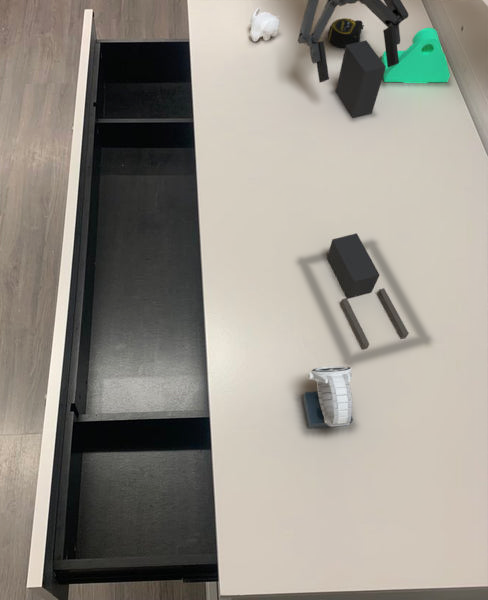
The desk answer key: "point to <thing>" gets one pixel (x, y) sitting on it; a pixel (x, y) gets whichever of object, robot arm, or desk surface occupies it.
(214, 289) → the desk surface
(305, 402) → the watch
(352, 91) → the block
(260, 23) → the elephant figurine
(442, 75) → the camera mount
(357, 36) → the tape measure
